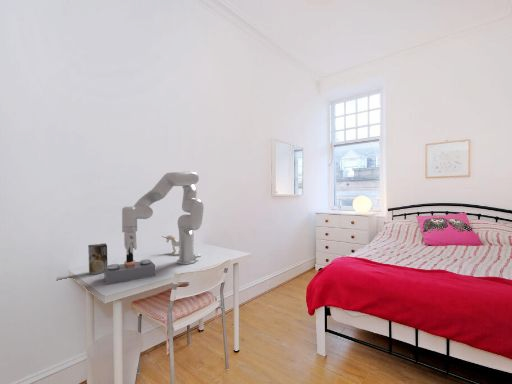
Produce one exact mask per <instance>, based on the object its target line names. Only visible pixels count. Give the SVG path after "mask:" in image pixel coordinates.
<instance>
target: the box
mask: <svg viewBox="0 0 512 384" xmlns="http://www.w3.org/2000/svg"><path fill="white" fill-rule="evenodd" d="M119 265H120V268H119V269H116V270H108V266H109V265H108V266H107V267H104V275H103V277H104V281H105V283H106V285H112V284H119V283H123V282H128V281H134V280H139V279H143V278H145V279H146V278H150V277H154V276H156V264H155V263H154V262H153V261H152V260H151V263H150V264H147V265H141V264H140V261H136V264H135V265H134V267H128V268H126V266H125V265H124V263H122V264H119Z"/></svg>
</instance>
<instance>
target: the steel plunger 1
mask: <svg viewBox="0 0 512 384" xmlns="http://www.w3.org/2000/svg"><path fill="white" fill-rule="evenodd" d="M119 268H120V264H119V263H113V264H109V265H108V270H116V269H119Z"/></svg>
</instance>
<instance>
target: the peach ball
mask: <svg viewBox="0 0 512 384" xmlns="http://www.w3.org/2000/svg"><path fill="white" fill-rule="evenodd" d="M136 262H137V261H136V260H135V259H133V262H127V261H126V260H125V261H124V263H123V264H124V265H125V266H126V268H128V267H134V265H135V264H136Z"/></svg>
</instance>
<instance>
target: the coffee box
mask: <svg viewBox="0 0 512 384" xmlns="http://www.w3.org/2000/svg"><path fill="white" fill-rule="evenodd" d="M87 249H88V274H89V276H91V275H97V274H102V273H104V267H107V266H109V265H108V245H107V243H106V242H105V243H95V244H88V246H87Z"/></svg>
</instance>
